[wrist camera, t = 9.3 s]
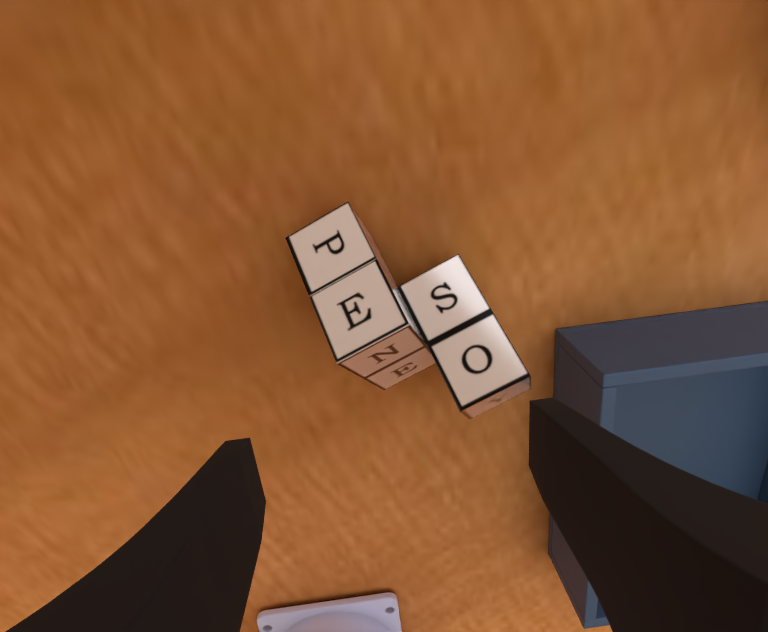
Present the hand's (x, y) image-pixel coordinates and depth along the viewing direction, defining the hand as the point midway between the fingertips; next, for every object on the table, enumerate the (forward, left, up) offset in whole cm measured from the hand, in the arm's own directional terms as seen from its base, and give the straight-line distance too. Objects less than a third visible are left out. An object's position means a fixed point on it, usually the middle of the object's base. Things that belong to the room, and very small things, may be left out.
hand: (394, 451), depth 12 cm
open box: (-9, -14, -9) cm, 19 cm away
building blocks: (+1, -1, -10) cm, 10 cm away
